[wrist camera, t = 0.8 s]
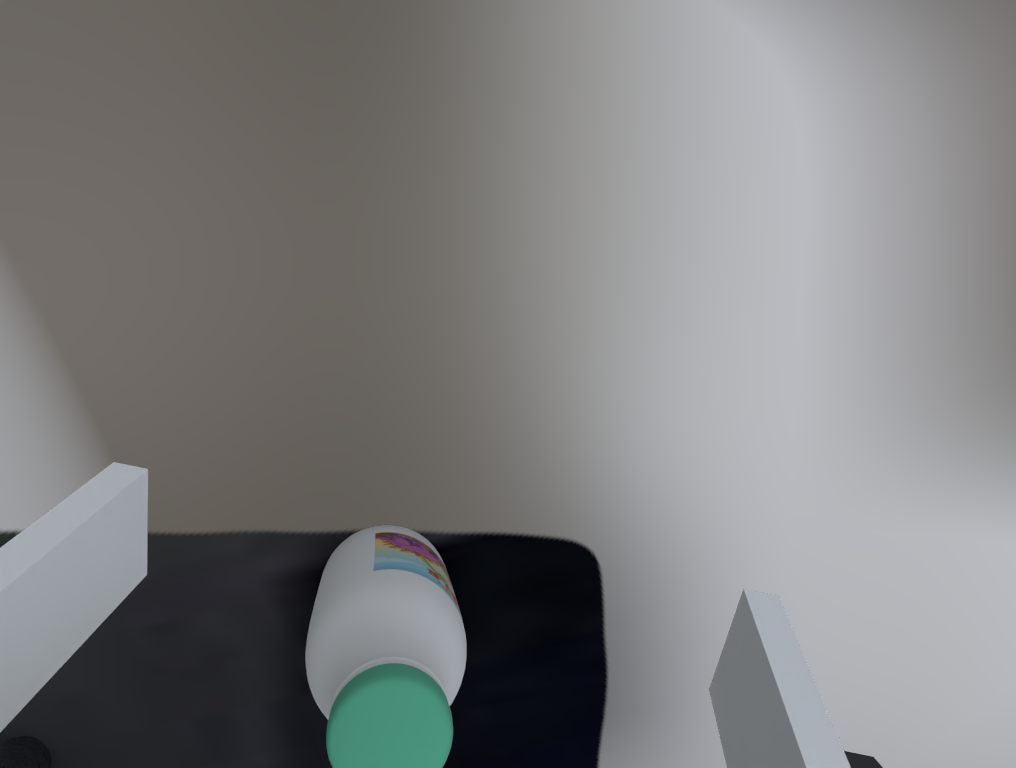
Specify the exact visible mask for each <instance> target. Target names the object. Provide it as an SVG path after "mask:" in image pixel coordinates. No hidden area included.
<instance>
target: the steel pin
mask: <svg viewBox="0 0 1016 768" xmlns="http://www.w3.org/2000/svg"><path fill="white" fill-rule="evenodd" d="M49 767H50V754H49V751H48V749H47V748H46V746H45V745H44V744H43V743H42V742H40V741H39V740H37V739H34V738H31V737H17V738H13V739H11V740H9V741H7V742H6V743H4V744H3V745H2V746H1V747H0V768H49Z"/></svg>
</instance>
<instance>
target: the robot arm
mask: <svg viewBox="0 0 1016 768" xmlns="http://www.w3.org/2000/svg"><path fill="white" fill-rule="evenodd" d="M147 510H148V469H145V468H140V467H135V466H130V465H125V464H120V463H115V462H113V463H112V464H111V465H109V466H108V467H107V468H105V469H104V470H103V471H101V472H100V473H99V474H97V475H96V476H95V477H94V478H92V479H91V480H90V481H88V482H87V483H86V484H84V485H83V486H82V487H80V488H79V489H78V490H76V491H75V492H74V493H73V494H71V495H70V496H69V497H67V498H66V499H64V500H63V501H62V502H60V503H59V504H58V505H57V506H55V507H54V508H53V509H51V510H50V511H48V512H47V513H46V514H44V515H43V516H42V517H41V518H39V519H38V520H37V521H35V522H34V523H33V524H31V525H30V526H29V527H27V528H26V529H25V530H23V531H22V532H21V533H19V534H18V535H17V536H15V537H14V538H13V539H11V540H10V541H9V542H7V543H6V544H5V545H3V546H2V547H1V548H0V732H1V731H2V730H3V729H4V728H5V727H6V726H7V725H8V724H9V722H10V721H11V720H12V719H13V718H14V717H15V716H16V715H17V714H18V713H19V712H20V711H21V710H22V709H23V707H24V706H25V705H26V704H27V703H28V702H29V701H30V700H31V699H32V698H33V697H34V696H35V695H36V693H37V692H38V691H39V690H40V689H41V688H42V687H43V686H44V685H45V684H46V683H47V682H48V681H49V679H50V678H51V677H52V676H53V675H54V674H55V673H56V672H57V671H58V670H59V669H60V668H61V667H62V666H63V664H64V663H65V662H66V661H67V660H68V659H69V658H70V657H71V656H72V655H73V654H74V653H75V652H76V650H77V649H78V648H79V647H80V646H81V645H82V644H83V643H84V642H85V641H86V640H87V639H88V638H89V636H90V635H91V634H92V633H93V632H94V631H95V630H96V629H97V628H98V627H99V626H100V625H101V624H102V623H103V621H104V620H105V619H106V618H107V617H108V616H109V615H110V614H111V613H112V612H113V611H114V610H115V609H116V607H117V606H118V605H119V604H120V603H121V602H122V601H123V600H124V599H125V598H126V597H127V596H128V595H129V593H130V592H131V591H132V590H133V589H134V588H135V587H136V586H137V585H138V584H139V583H140V582H141V581H142V580H143V578H144V577H145V576H146V575H147V522H148V511H147ZM709 691H710V695H711V700H712V704H713V708H714V713H715V716H716V721H717V726H718V729H719V734H720V739H721V743H722V747H723V752H724V756H725V760H726V764H727V768H882V766H881V765H880V764H879V763H878V762H877V761H876V760H875V758H874V757H870V756H866V755H861V754H856V753H851V752H846V751H844V750H843V748H842V745H841V743H840V741H839V738H838V736H837V733H836V731H835V729H834V726H833V724H832V721H831V719H830V717H829V714H828V712H827V709H826V707H825V705H824V702H823V700H822V698H821V695H820V693H819V690H818V688H817V686H816V683H815V681H814V678H813V676H812V674H811V671H810V669H809V667H808V664H807V662H806V659H805V657H804V655H803V652H802V650H801V648H800V645H799V643H798V640H797V638H796V636H795V633H794V631H793V629H792V626H791V624H790V622H789V619H788V616H787V614H786V612H785V610H784V607H783V605H782V602H781V600H780V597H779V596H776V595H771V594H766V593H761V592H756V591H752V590H747V589H743V592H742V595H741V598H740V601H739V604H738V607H737V610H736V613H735V615H734V618H733V621H732V624H731V627H730V630H729V633H728V636H727V639H726V642H725V645H724V648H723V651H722V653H721V656H720V659H719V662H718V665H717V668H716V671H715V674H714V677H713V680H712V683H711V686H710V688H709Z"/></svg>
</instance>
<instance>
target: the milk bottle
mask: <svg viewBox="0 0 1016 768" xmlns="http://www.w3.org/2000/svg"><path fill="white" fill-rule="evenodd" d="M305 660H306V671H307V678H308V683H309V686H310V689H311V692H312V695H313V697H314V699H315V701H316V704H317V705H318V707H319V709H320V710H321V711H322V713H323V714H324V715H325V717H326V718H327V719H328V724H327V735H326V746H327V753H328V757H329V760H330V763H331V765H332V767H333V768H442V767H443V766H444V764H445V762H446V760H447V757H448V754H449V752H450V748H451V745H452V739H453V723H452V715H451V710H450V705H451V703H452V702H453V700H454V698H455V696H456V694H457V692H458V690H459V688H460V685H461V682H462V678H463V675H464V671H465V665H466V635H465V630H464V625H463V621H462V616H461V613H460V609H459V606H458V603H457V600H456V597H455V594H454V590H453V588H452V585H451V582H450V579H449V576H448V573H447V570H446V567H445V565H444V563H443V560H442V558H441V557H440V555H439V553H438V551H437V550H436V549H435V547H434V546H433V545H432V544H431V543H430V542H429V541H428V540H427V539H426V538H425V537H423V536H422V535H420V534H419V533H417V532H415V531H413V530H411V529H408V528H405V527H401V526H396V525H378V526H372V527H368V528H366V529H363V530H360V531H358V532H356V533H354V534H353V535H351V536H350V537H348V538H347V539H346V540H344V541H343V542H342V543H341V544H340V545H339V546H338V547H337V548H336V549H335V551H334V552H333V553H332V555H331V556H330V558H329V560H328V562H327V564H326V566H325V569H324V571H323V574H322V577H321V581H320V585H319V588H318V592H317V596H316V600H315V604H314V608H313V612H312V616H311V621H310V625H309V630H308V636H307V643H306V653H305Z"/></svg>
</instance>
